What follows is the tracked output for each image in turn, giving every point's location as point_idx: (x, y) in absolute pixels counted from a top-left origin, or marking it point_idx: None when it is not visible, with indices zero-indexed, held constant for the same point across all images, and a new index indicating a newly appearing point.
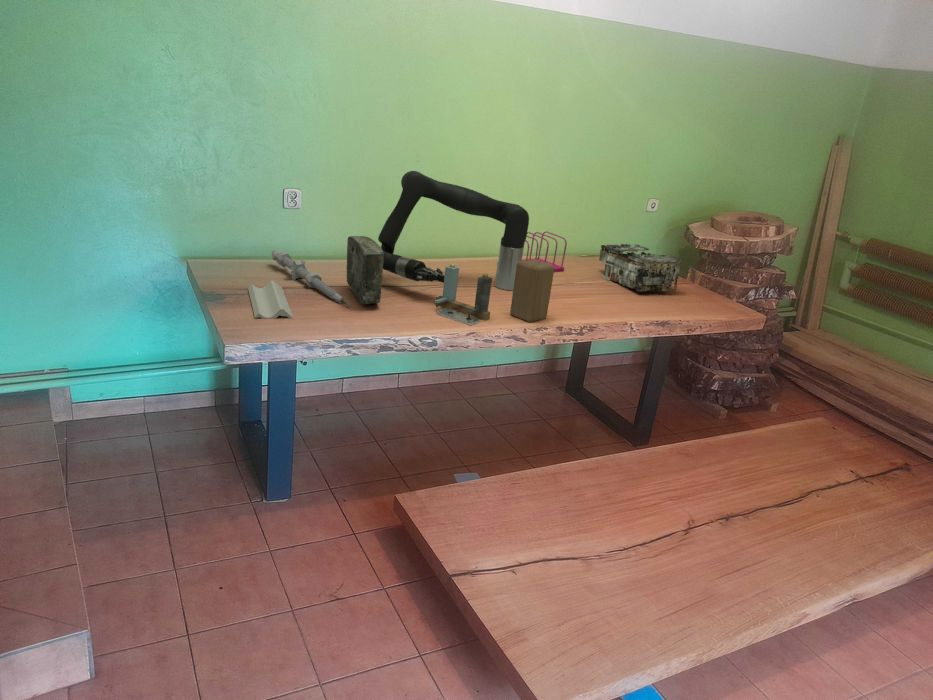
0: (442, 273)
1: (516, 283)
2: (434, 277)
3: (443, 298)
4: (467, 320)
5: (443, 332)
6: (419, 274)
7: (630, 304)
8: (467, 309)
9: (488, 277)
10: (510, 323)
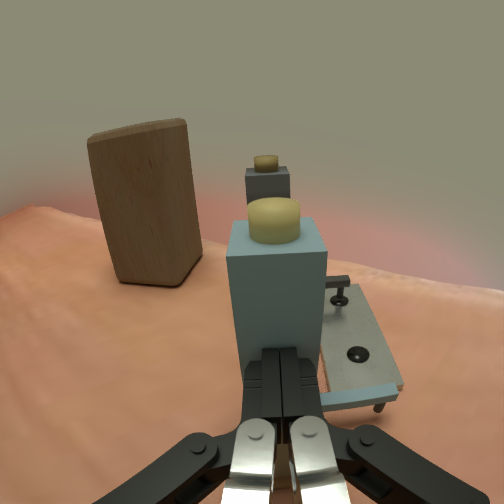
0: (195, 437)
1: (167, 188)
2: (341, 434)
3: (330, 400)
4: (352, 296)
5: (451, 287)
6: (473, 492)
7: (16, 239)
8: None
9: (254, 169)
10: None
